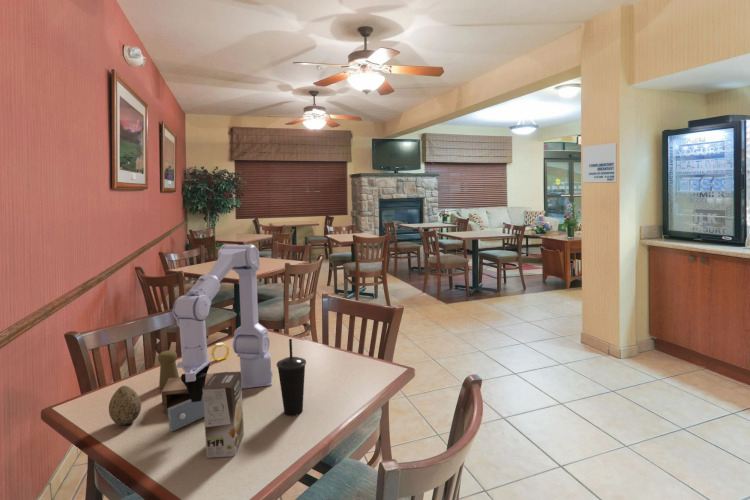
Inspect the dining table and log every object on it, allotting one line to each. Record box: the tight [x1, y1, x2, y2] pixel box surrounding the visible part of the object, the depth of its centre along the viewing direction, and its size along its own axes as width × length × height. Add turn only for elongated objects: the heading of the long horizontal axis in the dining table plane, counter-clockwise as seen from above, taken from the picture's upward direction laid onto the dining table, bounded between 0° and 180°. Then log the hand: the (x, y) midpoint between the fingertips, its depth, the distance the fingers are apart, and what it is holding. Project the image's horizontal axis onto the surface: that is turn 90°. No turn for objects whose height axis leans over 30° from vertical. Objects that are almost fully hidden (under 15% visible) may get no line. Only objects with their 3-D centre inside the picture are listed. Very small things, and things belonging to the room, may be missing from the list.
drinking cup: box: [276, 338, 307, 417], centre depth 112 cm, size 8×8×20 cm
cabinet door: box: [167, 395, 204, 432], centre depth 110 cm, size 17×3×6 cm, turn 144°
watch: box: [211, 342, 230, 362], centre depth 152 cm, size 6×3×6 cm, turn 131°
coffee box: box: [202, 371, 245, 459], centre depth 97 cm, size 9×6×16 cm
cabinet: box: [161, 371, 224, 414], centre depth 120 cm, size 16×9×6 cm, turn 104°
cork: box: [157, 349, 180, 391], centre depth 130 cm, size 6×6×11 cm
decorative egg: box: [108, 385, 142, 426], centre depth 109 cm, size 7×7×10 cm
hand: (197, 397), depth 104 cm, fingers open, 3 cm apart
